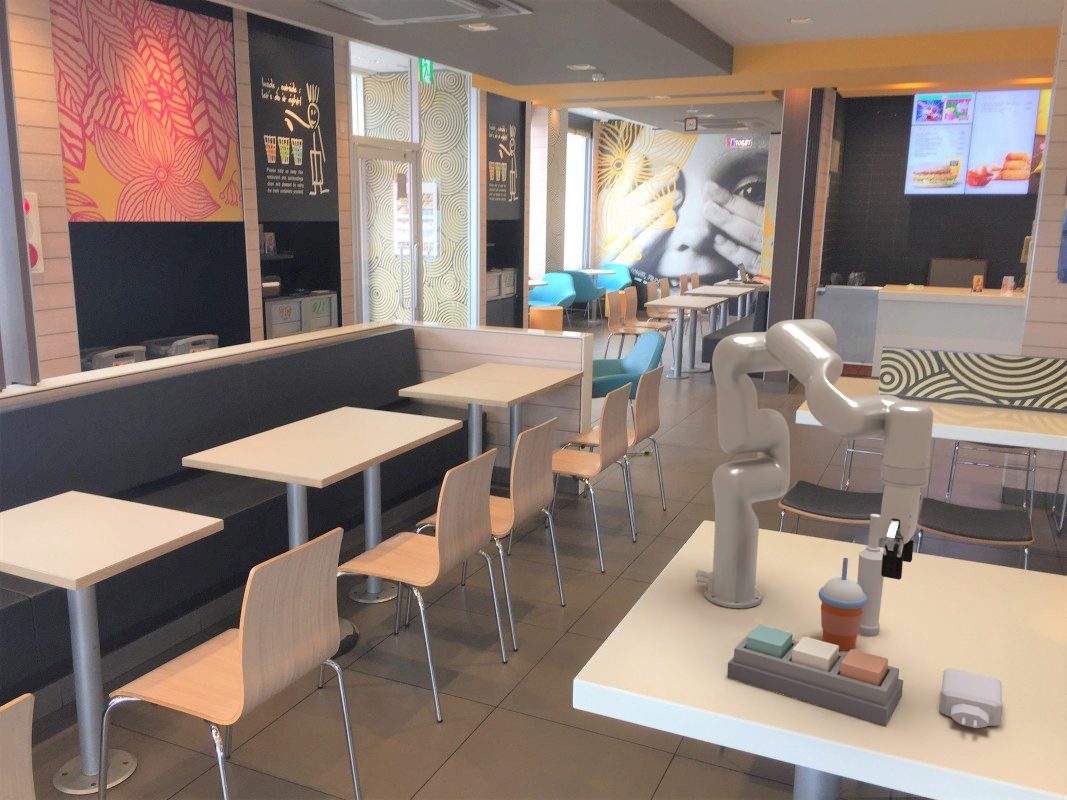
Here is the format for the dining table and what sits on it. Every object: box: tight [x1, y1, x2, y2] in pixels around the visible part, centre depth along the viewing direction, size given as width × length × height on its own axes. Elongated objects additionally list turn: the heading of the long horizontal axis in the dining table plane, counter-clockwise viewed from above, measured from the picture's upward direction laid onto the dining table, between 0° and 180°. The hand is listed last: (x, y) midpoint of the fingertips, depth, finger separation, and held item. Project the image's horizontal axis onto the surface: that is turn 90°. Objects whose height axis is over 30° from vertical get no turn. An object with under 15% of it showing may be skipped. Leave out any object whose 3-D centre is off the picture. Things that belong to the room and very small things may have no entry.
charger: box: [939, 668, 1003, 729], centre depth 150 cm, size 5×9×15 cm
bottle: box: [856, 513, 885, 637], centre depth 179 cm, size 5×5×25 cm
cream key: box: [792, 636, 840, 672], centre depth 158 cm, size 6×6×3 cm
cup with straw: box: [818, 557, 867, 651], centre depth 174 cm, size 9×9×18 cm
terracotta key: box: [840, 648, 889, 687], centre depth 154 cm, size 6×6×3 cm
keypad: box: [726, 636, 904, 727], centre depth 159 cm, size 28×12×6 cm, turn 55°
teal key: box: [746, 624, 794, 659], centre depth 163 cm, size 6×6×3 cm
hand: (896, 568), depth 154 cm, fingers open, 9 cm apart
